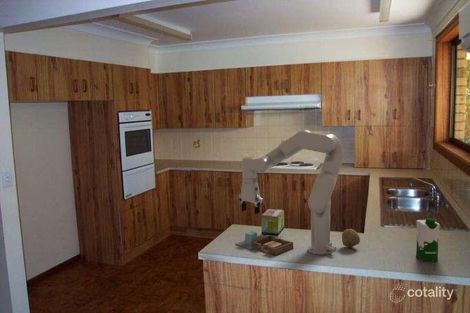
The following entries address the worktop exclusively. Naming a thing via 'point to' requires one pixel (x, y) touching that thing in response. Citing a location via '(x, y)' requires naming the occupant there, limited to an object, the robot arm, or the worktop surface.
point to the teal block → (250, 237)
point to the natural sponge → (350, 238)
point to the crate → (272, 245)
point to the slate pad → (244, 245)
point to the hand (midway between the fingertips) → (250, 212)
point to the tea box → (273, 223)
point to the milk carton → (427, 239)
